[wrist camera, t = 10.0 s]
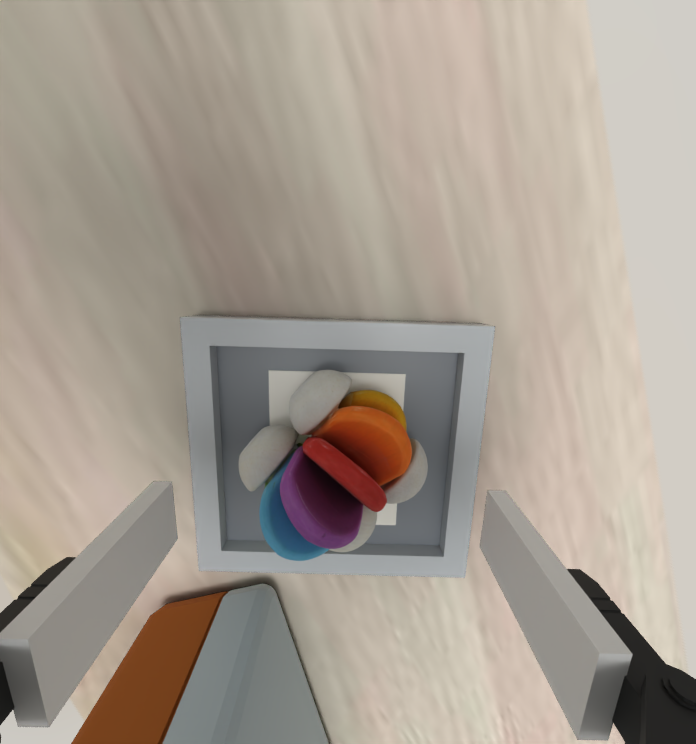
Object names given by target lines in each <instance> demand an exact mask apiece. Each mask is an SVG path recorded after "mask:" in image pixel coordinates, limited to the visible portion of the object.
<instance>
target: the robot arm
mask: <svg viewBox="0 0 696 744" xmlns="http://www.w3.org/2000/svg"><path fill="white" fill-rule="evenodd" d="M177 539H178V536H177V526H176V516H175V507H174V497H173V487H172V482H168V481H153V482H152V483H151V484H150V485H149V486H148V487H147V488H146V489H145V490H144V491H143V492H142V493H141V494H140V495H139V496H138V497H137V498H136V499H135V500H134V501H133V502H132V503H131V504H130V505H129V506H128V507H127V508H126V509H125V510H124V511H123V512H122V513H121V514H120V515H119V516H118V517H117V518H116V519H115V520H114V521H113V522H112V523H111V524H110V525H109V526H108V527H107V528H106V529H105V530H104V531H103V532H102V533H101V534H99V535H98V536H97V537H96V538H95V539H94V540H93V541H92V542H91V543H90V544H89V545H88V546H87V547H86V548H85V549H84V550H83V551H82V552H81V553H80V554H79V555H78V556H77V557H66V558H65V559H63V560H62V561H60V562H58V563H57V564H55V565H54V566H52V567H50V568H49V569H47V570H46V571H45V572H44V573H43V574H42V575H41V576H40V577H39V578H37V579H36V580H35V581H34V582H33V583H32V584H31V587H28V588H27V589H26V590H25V591H24V592H22V593H21V594H20V595H19V596H18V599H17V600H14V601H13V602H12V603H11V604H10V605H9V606H7V607H6V608H5V609H4V610H3V611H2V612H1V613H0V725H1V724H2V722H3V721H4V720H5V719H6V717H7V716H8V715H9V713H10V712H11V711H12V710H14V714H15V718H16V721H17V725H18V727H50V725H51V724H52V722H53V721H54V719H55V718H56V716H57V715H58V713H59V712H60V710H61V709H62V707H63V706H64V705H65V703H66V702H67V700H68V699H69V697H70V696H71V694H72V693H73V691H74V690H75V688H76V687H77V686H78V684H79V683H80V681H81V680H82V678H83V677H84V675H85V674H86V672H87V671H88V669H89V668H90V667H91V665H92V664H93V662H94V661H95V659H96V658H97V656H98V655H99V653H100V652H101V650H102V649H103V647H104V646H105V645H106V643H107V642H108V640H109V639H110V637H111V636H112V634H113V633H114V631H115V630H116V628H117V627H118V625H119V624H120V623H121V621H122V620H123V618H124V617H125V615H126V614H127V612H128V611H129V609H130V608H131V606H132V605H133V603H134V602H135V601H136V599H137V598H138V596H139V595H140V593H141V592H142V590H143V589H144V587H145V586H146V584H147V583H148V581H149V580H150V579H151V577H152V576H153V574H154V573H155V571H156V570H157V568H158V567H159V565H160V564H161V562H162V561H163V560H164V558H165V557H166V555H167V554H168V552H169V551H170V549H171V548H172V546H173V545H174V543H175V542H176V540H177ZM480 548H481V550H482V552H483V554H484V556H485V558H486V560H487V562H488V564H489V566H490V568H491V570H492V572H493V574H494V576H495V578H496V580H497V582H498V584H499V586H500V588H501V590H502V592H503V594H504V596H505V598H506V600H507V602H508V604H509V606H510V607H511V609H512V611H513V613H514V615H515V617H516V619H517V621H518V623H519V625H520V627H521V629H522V631H523V633H524V635H525V637H526V639H527V641H528V643H529V645H530V647H531V649H532V651H533V653H534V655H535V657H536V659H537V661H538V663H539V665H540V667H541V669H542V671H543V673H544V675H545V677H546V679H547V681H548V683H549V684H550V686H551V688H552V690H553V692H554V694H555V696H556V698H557V700H558V702H559V704H560V706H561V708H562V710H563V712H564V714H565V716H566V718H567V720H568V722H569V724H570V726H571V728H572V730H573V732H574V734H575V736H576V738H577V740H608V739H609V735H610V732H611V728H612V725H613V723H614V724H615V726H616V728H617V729H618V731H619V733H620V734H621V736H622V737H623V739H624V741H625V744H696V679H694V678H693V677H691V676H689V675H688V674H686V673H685V672H683V671H682V670H679V669H677V668H674V667H672V666H669V665H666V664H665V662H664V661H663V660H662V659H661V658H660V657H659V655H658V654H657V653H656V652H655V651H654V649H653V648H652V647H651V646H650V645H649V644H648V642H647V641H646V640H645V639H644V638H643V636H642V635H641V634H640V633H639V632H638V630H637V629H636V628H635V627H634V626H633V625H632V623H631V622H630V621H629V620H628V619H627V617H626V616H625V615H624V614H622V613H621V610H620V609H619V608H618V607H617V606H616V604H615V603H614V602H613V601H611V600H610V597H609V596H608V595H607V594H606V593H605V591H604V590H603V589H602V588H601V587H600V585H599V584H598V583H597V582H596V581H594V580H593V579H592V578H590V577H589V576H588V575H587V574H585V573H584V572H583V571H581V570H580V569H566V568H565V566H564V565H563V564H562V562H561V561H560V560H559V559H558V557H557V556H556V555H555V553H554V552H553V551H552V550H551V548H550V547H549V546H548V544H547V543H546V542H545V541H544V539H543V538H542V537H541V535H540V534H539V533H538V532H537V530H536V529H535V528H534V526H533V525H532V524H531V523H530V521H529V520H528V519H527V517H526V516H525V515H524V513H523V512H522V511H521V510H520V508H519V507H518V506H517V504H516V503H515V502H514V501H513V499H512V498H511V497H510V495H509V494H508V493H507V492H506V491H502V490H487V497H486V504H485V511H484V518H483V526H482V533H481V540H480ZM0 743H1V735H0Z"/></svg>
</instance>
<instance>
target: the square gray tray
mask: <svg viewBox="0 0 696 744" xmlns="http://www.w3.org/2000/svg"><path fill="white" fill-rule="evenodd" d="M180 326H181V339H182V352H183V366H184V379H185V392H186V406H187V419H188V433H189V446H190V459H191V473H192V486H193V499H194V513H195V526H196V539H197V553H198V566H199V571H225V572H264V573H303V574H342V575H382V576H421V577H460V578H465V574H466V566H467V557H468V549H469V541H470V532H471V524H472V516H473V507H474V499H475V491H476V482H477V474H478V466H479V457H480V449H481V440H482V432H483V424H484V415H485V407H486V399H487V390H488V382H489V374H490V365H491V357H492V349H493V340H494V332H495V326H491V325H486V324H481V323H456V322H422V321H388V320H353V319H319V318H285V317H251V316H216V315H193V316H185V317H180ZM320 370H335V371H339V372H341V373H344V374H346V375H347V376H349V377H350V378H351V379H352V385H351V386H350V388H349V390H348V392H347V393H346V395H347V394H348V393H350V392H355V391H359V390H375V391H379V392H382V393H385V394H387V395H389V396H390V397H392V398H393V399H394V400H395V401H396V402H397V403H398V404H399V405H400V406H401V408H402V410H403V412H404V415H405V418H406V424H407V428H406V432H407V434H408V437H409V438H414V439H416V440H417V441H418V442H419V443H420V444H421V446H422V448H423V449H424V452H425V454H426V457H427V463H428V471H427V477H426V480H425V482H424V484H423V486H422V488H421V489H420V491H419V492H418V493H417V494H416V495H415V496H414V497H412V498H410V499H409V500H407V501H404V502H401V503H396V504H388V503H386V505H385V507H384V508H383V509H382V510H381V511H379V512H377V521H376V525H375V528H374V531H373V532H372V534H371V536H370V537H369V539H368V540H367V541H366V542H365V543H364V544H363V545H362V546H360V547H358V548H357V549H355V550H352V551H349V552H334V551H331V550H328V551H327V552H325V553H324V554H322V555H320V556H318V557H316V558H313V559H310V560H305V561H293V560H288V559H285V558H283V557H281V556H279V555H277V554H276V553H275V552H274V551H273V550H272V548H271V547H270V546H269V545H268V543H267V542H266V540H265V538H264V535H263V532H262V529H261V525H260V516H259V510H260V502H261V497H262V494H263V491H264V489H265V483H263V484H262V485H261V486H260V487H258V488H257V489H256V490H255V491H249V490H248V489H247V488H246V486H245V485H244V483H243V482H242V480H241V477H240V473H239V456H240V454H241V452H242V451H243V450H244V448H245V447H246V446H247V445H248V444H249V442H250V441H251V440H252V439H253V438H254V437H255V436H256V435H257V433H258V432H259V431H260V430H261V429H263V428H264V427H267V426H271V425H285V426H289V427H291V428H294V426H293V424H292V422H291V419H290V414H289V401H290V398H291V396H292V395H293V394H294V392H295V391H296V390H297V389H298V388H299V387H300V386H301V385H302V384H303V383H304V382H305V381H306V379H307V378H309V377H310V376H311V375H312V374H313V373H314V372H316V371H320ZM346 395H345V396H346ZM345 396H344V397H345ZM344 397H343V398H344ZM294 429H295V428H294ZM311 436H312V435H300V434H299V436H298V438H297V440H296V443H295V444H298V443H301V444H303V443H304V442H305V440H306V439H307V438H308V437H311Z"/></svg>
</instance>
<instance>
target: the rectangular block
mask: <svg viewBox="0 0 696 744" xmlns="http://www.w3.org/2000/svg"><path fill="white" fill-rule="evenodd" d="M71 744H329V742H328V740H327V737H326V734H325V731H324V728H323V725H322V723H321V720H320V717H319V714H318V711H317V708H316V705H315V702H314V700H313V697H312V694H311V691H310V688H309V685H308V682H307V679H306V677H305V674H304V671H303V668H302V665H301V662H300V659H299V657H298V654H297V651H296V648H295V645H294V642H293V640H292V637H291V634H290V631H289V628H288V625H287V622H286V620H285V617H284V614H283V611H282V608H281V605H280V602H279V599H278V597H277V594H276V592H275V590H274V589H273V588H272V587H271V586H270V585H266V584H258V585H254V586H249V587H244V588H239V589H235V590H230V591H229V592H227V591H225V592H221V593H216V594H211V595H207V596H202V597H197V598H192V599H188V600H183V601H178V602H174V603H169V604H166V605H165V606H163V607H162V608H160V609H159V610H158V611H156V612H155V613H154V614H152V615H151V616H150V617H149V619H148V620H147V622H146V624H145V625H144V627H143V629H142V630H141V632H140V633H139V635H138V637H137V638H136V640H135V641H134V643H133V645H132V646H131V648H130V649H129V651H128V653H127V654H126V656H125V658H124V659H123V661H122V662H121V664H120V666H119V667H118V669H117V670H116V672H115V674H114V675H113V677H112V679H111V680H110V682H109V683H108V685H107V687H106V688H105V690H104V692H103V693H102V695H101V696H100V698H99V700H98V701H97V703H96V704H95V706H94V708H93V709H92V711H91V713H90V714H89V716H88V717H87V719H86V721H85V722H84V724H83V725H82V727H81V729H80V730H79V732H78V734H77V735H76V737H75V739H74V740H73V742H72V743H71Z"/></svg>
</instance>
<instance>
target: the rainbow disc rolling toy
mask: <svg viewBox="0 0 696 744" xmlns="http://www.w3.org/2000/svg"><path fill="white" fill-rule="evenodd" d="M351 385H352V379H351V378H350V377H349V376H347V375H346V374H344V373H341V372H339V371H335V370H320V371H316V372H314V373H313V374H312V375H311V376H310V377H309V378H307V379H306V381H305V382H304V383H303V384H302V385H301V386H300V387H299V388H298V389H297V390H296V391H295V392H294V394H293V395H292V396H291V398H290V401H289V414H290V419H291V422H292V424H293V426H294V428H295V429H294V428H291V427H289V426H285V425H271V426H267V427H264V428H263V429H261V430H260V431H259V432H258V433H257V435H256V436H255V437H254V438H253V439H252V440H251V441H250V442H249V444H248V445H247V446H246V447H245V448H244V450H243V451H242V452H241V454H240V456H239V473H240V477H241V480H242V482H243V483H244V485H245V486H246V488H247V489H248V490H249V491H255V490H256V489H257V488H258V487H260V486H261V485H262V484H263V483H265V489H264V491H263V494H262V497H261V502H260V510H259V516H260V525H261V529H262V532H263V535H264V538H265V540H266V542H267V543H268V545H269V546H270V547H271V548H272V550H273V551H274V552H275V553H276V554H277V555H279V556H281V557H283V558H285V559H288V560H293V561H305V560H310V559H313V558H316V557H318V556H320V555H322V554H324V553H325V552H327V551H328V550H331V551H334V552H349V551H352V550H355V549H357V548H358V547H360V546H362V545H363V544H364V543H365V542H366V541H367V540H368V539H369V537H370V536H371V534H372V532H373V531H374V528H375V525H376V521H377V512H379V511H381V510H382V509H383V508H384V507H385V505H386V503H388V504H396V503H401V502H404V501H407V500H409V499H410V498H412V497H414V496H415V495H416V494H417V493H418V492H419V491H420V489H421V488H422V486H423V484H424V482H425V480H426V477H427V471H428V463H427V457H426V454H425V452H424V449H423V448H422V446H421V444H420V443H419V442H418V441H417V440H416V439H414V438H409V437H408V434H407V432H406V428H407V424H406V418H405V415H404V412H403V410H402V408H401V406H400V405H399V404H398V403H397V402H396V401H395V400H394V399H393V398H392V397H390V396H389V395H387V394H385V393H382V392H379V391H375V390H359V391H355V392H350V393H348V394H347V395H346V393H347V392H348V390H349V388H350V386H351ZM345 395H346V396H345ZM344 396H345V397H344ZM343 397H344V398H343ZM299 434H300V435H312V436H311V437H308V438H307V439H306V440H305V442H304V443H303V444H301V443H298V444H295V443H296V440H297V438H298V436H299Z"/></svg>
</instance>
